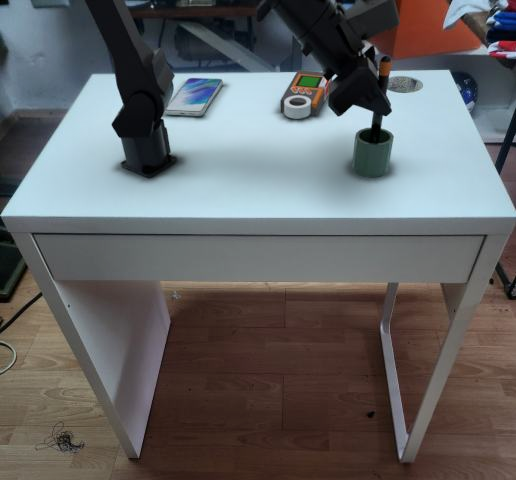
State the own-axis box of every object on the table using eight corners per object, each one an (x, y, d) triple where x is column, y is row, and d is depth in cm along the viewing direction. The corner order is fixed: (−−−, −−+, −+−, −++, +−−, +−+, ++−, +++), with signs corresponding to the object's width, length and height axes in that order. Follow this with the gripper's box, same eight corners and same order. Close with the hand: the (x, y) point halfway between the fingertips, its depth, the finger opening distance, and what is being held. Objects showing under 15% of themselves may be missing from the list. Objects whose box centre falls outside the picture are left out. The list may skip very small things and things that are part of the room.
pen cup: (377, 181, 74) (382, 148, 70) (345, 170, 76) (348, 138, 72) (394, 165, 76) (400, 133, 73) (362, 155, 79) (367, 124, 75)
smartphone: (163, 110, 90) (188, 77, 99) (164, 115, 90) (189, 82, 100) (201, 112, 88) (223, 78, 98) (202, 117, 89) (224, 83, 99)
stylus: (373, 161, 74) (389, 58, 64) (364, 158, 75) (378, 56, 64) (378, 157, 75) (394, 54, 65) (369, 154, 76) (384, 52, 65)
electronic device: (276, 104, 86) (298, 67, 95) (276, 121, 89) (298, 83, 98) (315, 108, 85) (333, 70, 94) (314, 125, 87) (332, 86, 96)
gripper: (370, -16, 51) (452, 97, 59) (361, -56, 64) (431, 41, 71) (291, 67, 58) (374, 159, 65) (297, 16, 70) (367, 98, 78)
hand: (388, 110), depth 70 cm, fingers closed on stylus, 1 cm apart
